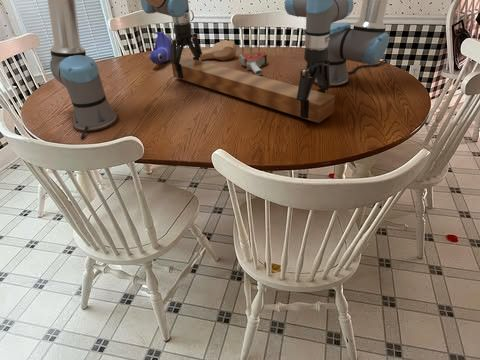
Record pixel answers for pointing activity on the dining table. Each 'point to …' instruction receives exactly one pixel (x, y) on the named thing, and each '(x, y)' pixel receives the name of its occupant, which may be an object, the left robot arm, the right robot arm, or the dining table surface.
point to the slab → (255, 88)
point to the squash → (220, 51)
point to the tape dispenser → (254, 62)
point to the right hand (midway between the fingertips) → (312, 112)
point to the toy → (161, 49)
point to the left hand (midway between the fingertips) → (188, 74)
